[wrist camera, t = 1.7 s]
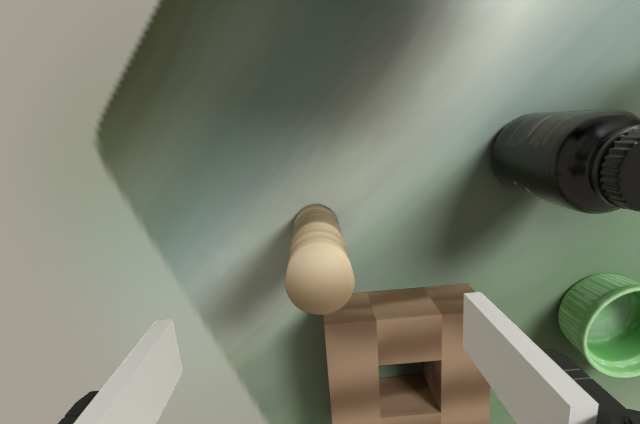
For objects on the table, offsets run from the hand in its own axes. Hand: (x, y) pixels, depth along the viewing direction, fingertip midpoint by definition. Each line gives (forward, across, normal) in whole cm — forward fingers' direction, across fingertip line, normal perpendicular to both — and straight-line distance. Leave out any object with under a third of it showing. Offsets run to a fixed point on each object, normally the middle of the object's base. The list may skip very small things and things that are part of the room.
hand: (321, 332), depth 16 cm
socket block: (+17, +7, -14) cm, 23 cm away
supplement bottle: (+17, +19, +5) cm, 26 cm away
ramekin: (+17, +27, -11) cm, 34 cm away
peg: (+17, 0, 0) cm, 17 cm away
